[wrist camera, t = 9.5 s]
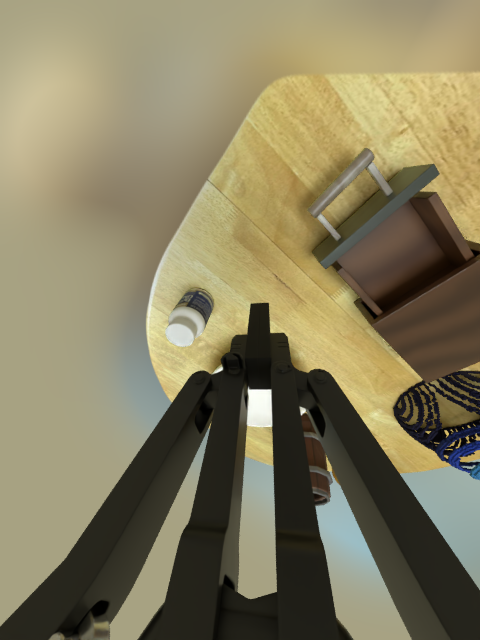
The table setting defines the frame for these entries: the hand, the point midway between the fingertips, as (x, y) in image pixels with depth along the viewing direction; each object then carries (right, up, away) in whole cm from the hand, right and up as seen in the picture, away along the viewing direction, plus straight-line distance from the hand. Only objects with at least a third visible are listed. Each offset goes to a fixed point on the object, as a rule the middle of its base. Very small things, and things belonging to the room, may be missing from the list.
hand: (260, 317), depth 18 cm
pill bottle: (-9, +3, +18) cm, 20 cm away
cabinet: (+27, +2, +14) cm, 30 cm away
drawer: (+16, +10, +9) cm, 21 cm away
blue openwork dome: (+42, -18, +26) cm, 53 cm away
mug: (+14, -30, +37) cm, 49 cm away
